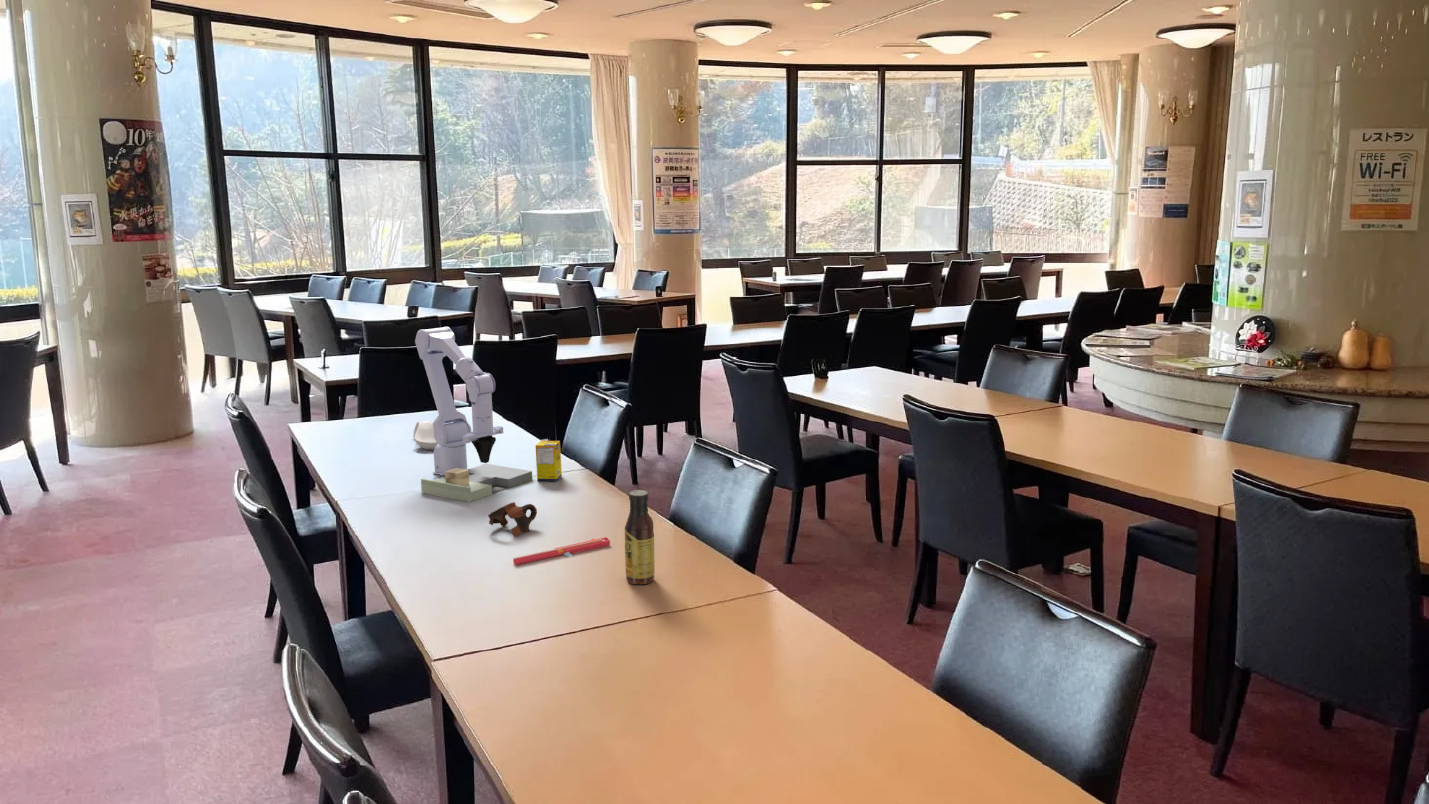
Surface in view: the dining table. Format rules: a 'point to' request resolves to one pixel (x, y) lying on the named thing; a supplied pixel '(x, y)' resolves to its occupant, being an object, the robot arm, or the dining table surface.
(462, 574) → the dining table surface
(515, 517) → the pottery mug
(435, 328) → the robot arm
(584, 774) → the dining table surface
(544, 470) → the supplement box
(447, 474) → the maple block
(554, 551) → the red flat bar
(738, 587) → the dining table surface
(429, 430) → the spoon rest
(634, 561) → the sauce bottle
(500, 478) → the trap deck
